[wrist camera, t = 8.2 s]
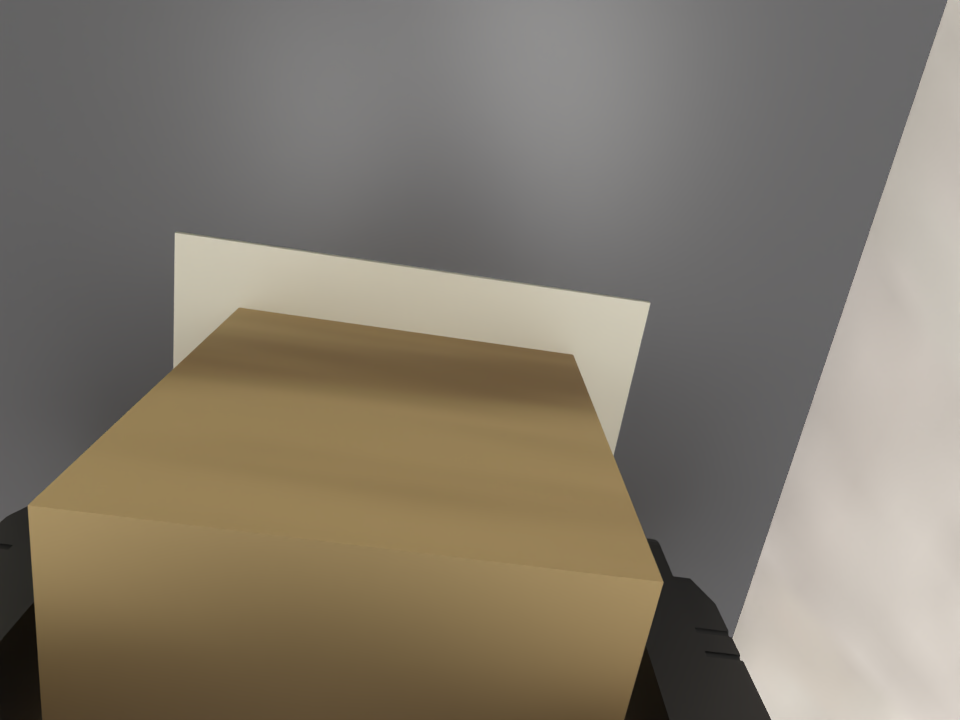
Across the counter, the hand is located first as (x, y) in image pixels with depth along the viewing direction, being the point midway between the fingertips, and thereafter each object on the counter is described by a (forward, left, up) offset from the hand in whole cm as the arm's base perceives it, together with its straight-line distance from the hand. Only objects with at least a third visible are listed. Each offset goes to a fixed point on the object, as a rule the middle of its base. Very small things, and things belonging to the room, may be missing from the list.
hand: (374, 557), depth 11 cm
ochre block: (0, 0, -2) cm, 2 cm away
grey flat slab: (0, 0, -3) cm, 3 cm away
